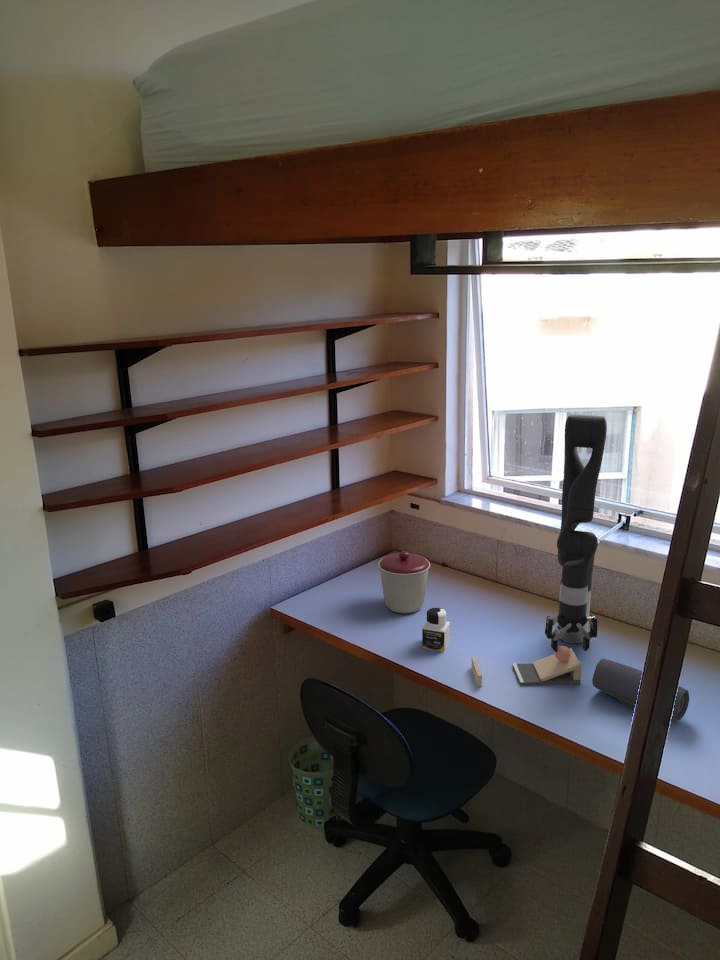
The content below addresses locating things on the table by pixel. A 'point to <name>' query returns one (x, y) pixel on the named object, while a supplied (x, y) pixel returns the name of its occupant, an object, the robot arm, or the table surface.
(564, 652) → the ball
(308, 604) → the table surface
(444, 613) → the medicine bottle
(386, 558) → the canister
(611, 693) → the bluetooth speaker
